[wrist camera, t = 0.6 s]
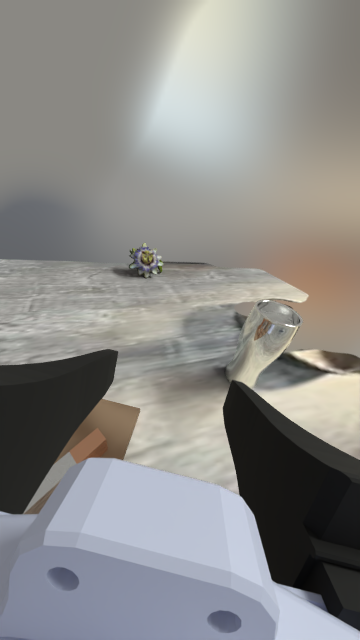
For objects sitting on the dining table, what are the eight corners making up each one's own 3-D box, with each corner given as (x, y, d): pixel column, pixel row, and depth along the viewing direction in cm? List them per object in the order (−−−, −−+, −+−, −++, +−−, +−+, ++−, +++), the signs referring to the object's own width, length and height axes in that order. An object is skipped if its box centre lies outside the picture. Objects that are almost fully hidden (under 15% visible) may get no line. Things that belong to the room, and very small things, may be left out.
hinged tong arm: (-193, 749, 9) (-271, 794, 7) (-187, 684, 10) (-254, 710, 8) (109, 452, 21) (108, 441, 19) (98, 436, 22) (95, 425, 20)
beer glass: (220, 384, 32) (254, 317, 23) (224, 357, 38) (253, 294, 29) (260, 398, 31) (311, 333, 22) (257, 368, 37) (298, 307, 28)
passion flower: (145, 291, 66) (128, 268, 56) (136, 273, 72) (118, 250, 62) (171, 274, 66) (159, 248, 56) (160, 258, 72) (146, 232, 61)
